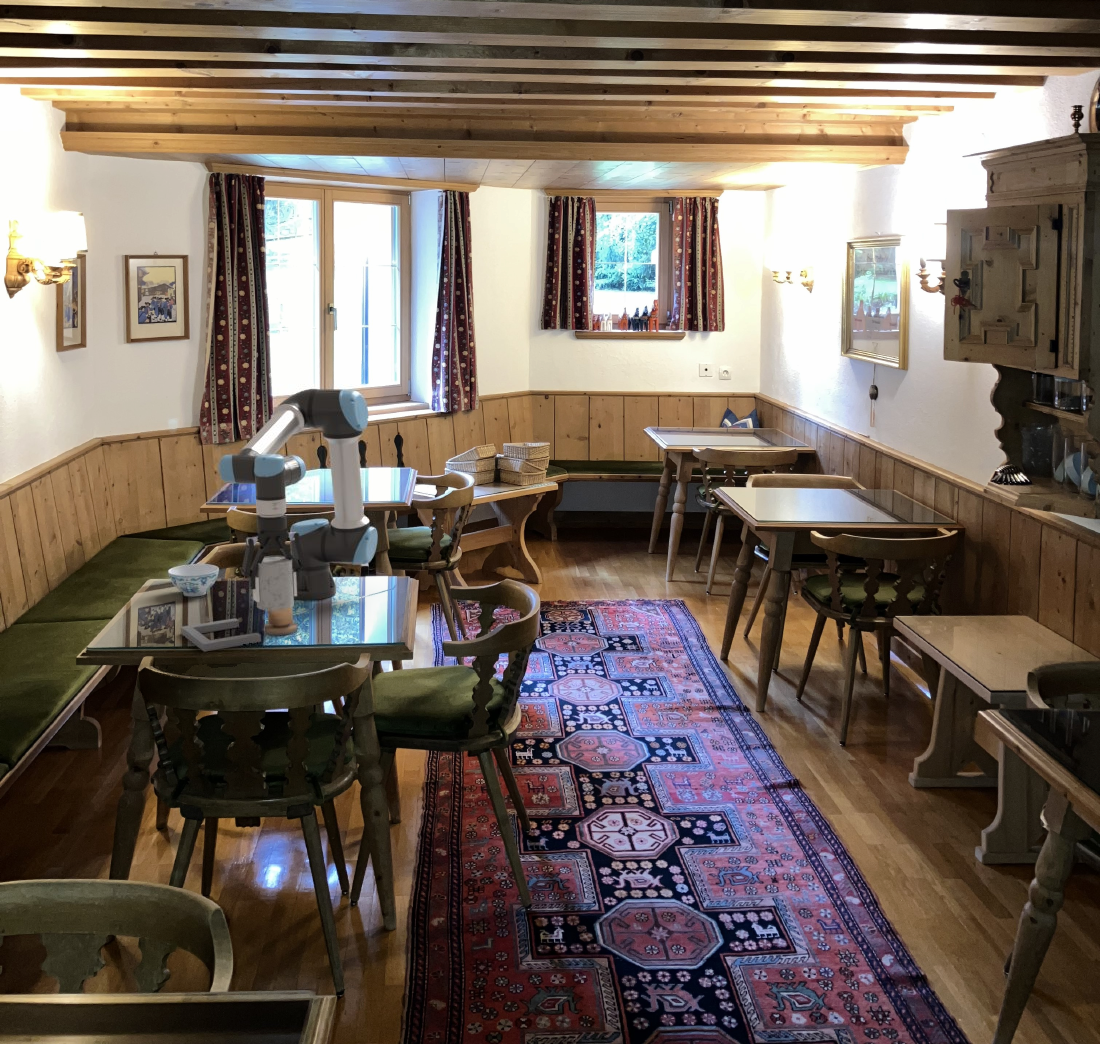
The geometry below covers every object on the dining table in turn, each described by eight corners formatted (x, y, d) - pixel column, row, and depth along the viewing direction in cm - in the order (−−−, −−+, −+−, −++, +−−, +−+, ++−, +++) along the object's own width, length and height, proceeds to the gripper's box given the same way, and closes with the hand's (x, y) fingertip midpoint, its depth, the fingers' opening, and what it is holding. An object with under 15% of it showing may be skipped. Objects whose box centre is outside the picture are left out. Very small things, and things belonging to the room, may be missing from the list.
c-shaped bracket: (181, 633, 319) (180, 626, 318) (235, 625, 327) (235, 618, 327) (204, 651, 303) (203, 644, 303) (261, 642, 312) (260, 634, 312)
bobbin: (259, 629, 324) (257, 577, 321) (289, 624, 329) (288, 572, 326) (271, 637, 316) (269, 583, 314) (302, 632, 322) (300, 579, 319)
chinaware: (200, 602, 351) (198, 577, 349) (159, 597, 356) (157, 572, 355) (229, 590, 365) (228, 566, 363) (190, 585, 370) (188, 562, 368)
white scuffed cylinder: (301, 603, 308) (299, 558, 305) (278, 612, 299) (276, 566, 297) (272, 598, 312) (270, 554, 309) (249, 607, 303) (246, 561, 301)
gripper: (234, 521, 291) (239, 607, 296) (317, 512, 304) (320, 594, 308) (224, 516, 298) (229, 600, 302) (306, 507, 310) (309, 588, 314)
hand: (275, 597), depth 305 cm, fingers closed on white scuffed cylinder, 9 cm apart
